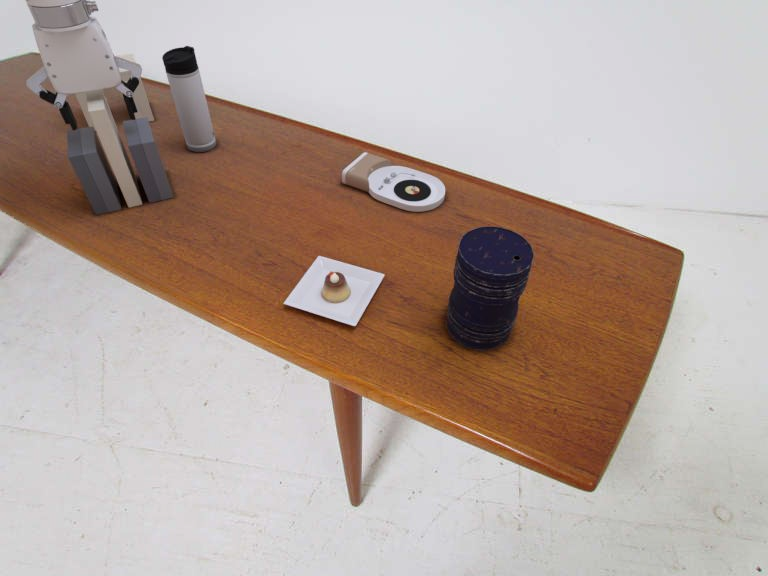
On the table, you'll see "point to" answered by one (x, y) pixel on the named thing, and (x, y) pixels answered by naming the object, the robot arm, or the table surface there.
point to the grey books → (98, 173)
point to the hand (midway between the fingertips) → (104, 121)
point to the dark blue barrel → (488, 286)
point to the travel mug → (189, 98)
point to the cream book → (113, 146)
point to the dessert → (335, 290)
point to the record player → (394, 183)
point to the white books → (138, 96)
